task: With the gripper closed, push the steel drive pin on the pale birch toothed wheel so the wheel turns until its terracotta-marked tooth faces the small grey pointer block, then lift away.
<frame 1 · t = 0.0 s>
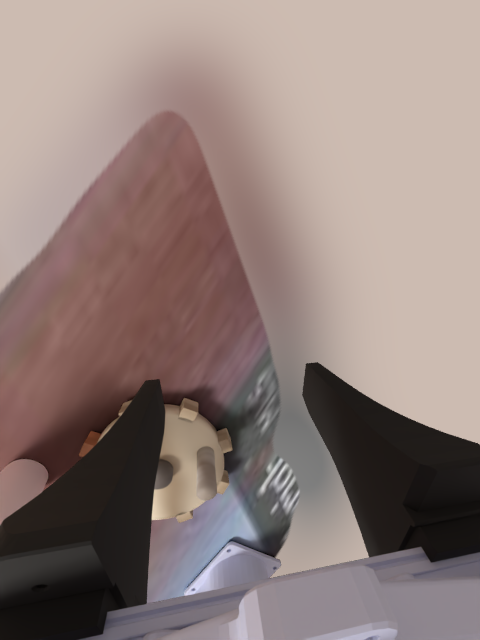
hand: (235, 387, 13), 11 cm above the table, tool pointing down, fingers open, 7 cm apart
sprocket: (156, 482, 23), point 3 cm above the table, hinge at 0.0°
smoothie: (27, 473, 25), on the table
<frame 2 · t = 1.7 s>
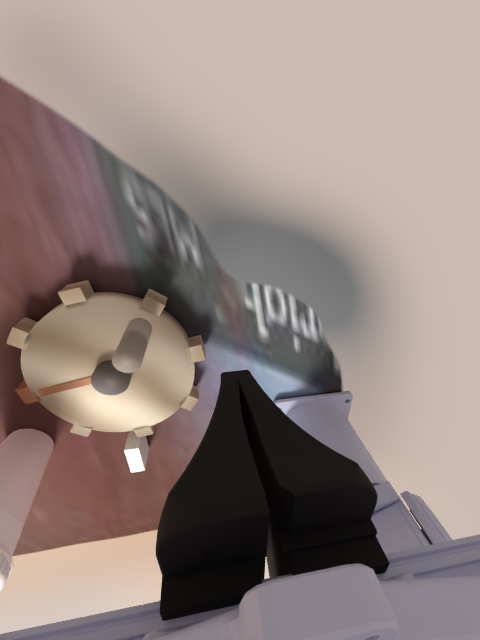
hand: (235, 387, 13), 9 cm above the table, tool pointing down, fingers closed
sprocket: (108, 385, 19), point 3 cm above the table, hinge at 0.0°
index pointer: (139, 438, 26), on the table
smoothie: (31, 441, 24), on the table
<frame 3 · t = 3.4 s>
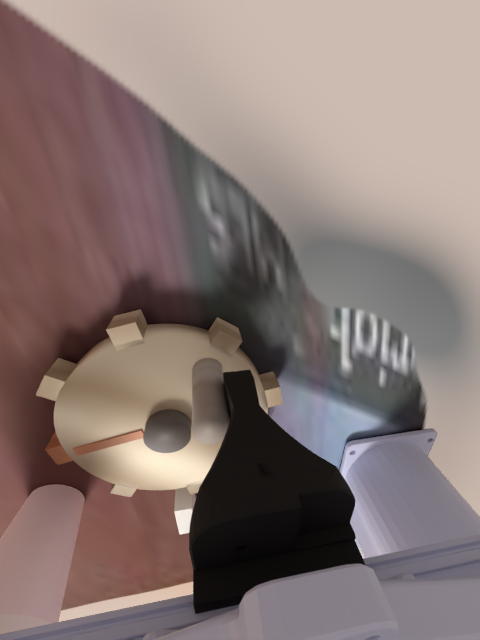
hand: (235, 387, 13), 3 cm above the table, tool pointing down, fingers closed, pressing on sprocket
sprocket: (166, 444, 15), point 3 cm above the table, hinge at 0.5°, touching gripper
index pointer: (186, 488, 21), on the table
smoothie: (58, 497, 20), on the table
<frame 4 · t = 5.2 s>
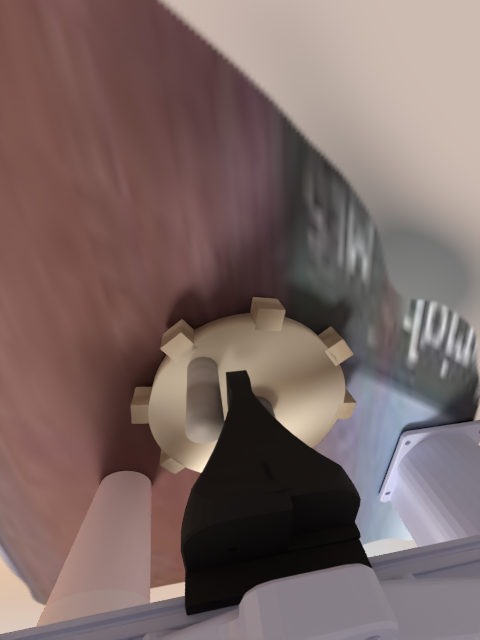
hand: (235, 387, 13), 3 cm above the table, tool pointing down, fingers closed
sprocket: (255, 429, 15), point 3 cm above the table, hinge at 71.5°, touching gripper
smoothie: (126, 484, 20), on the table
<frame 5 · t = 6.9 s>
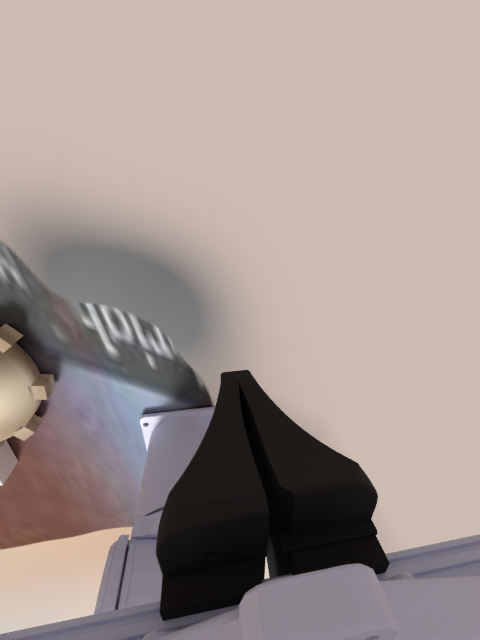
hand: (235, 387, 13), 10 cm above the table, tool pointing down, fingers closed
index pointer: (5, 451, 26), on the table
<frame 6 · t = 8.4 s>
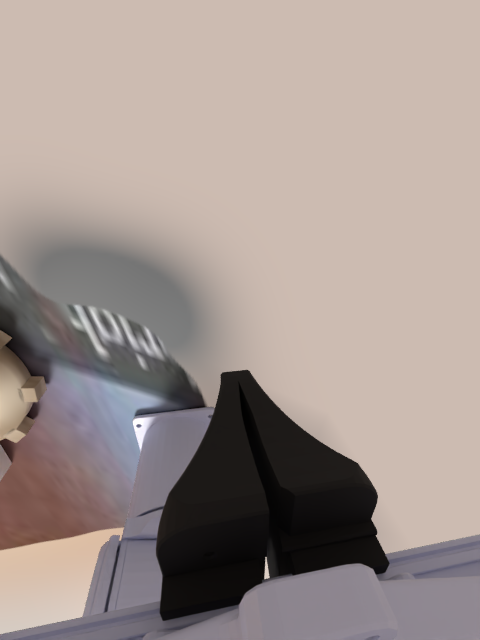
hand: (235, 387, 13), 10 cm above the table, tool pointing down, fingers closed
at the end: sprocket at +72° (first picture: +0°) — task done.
